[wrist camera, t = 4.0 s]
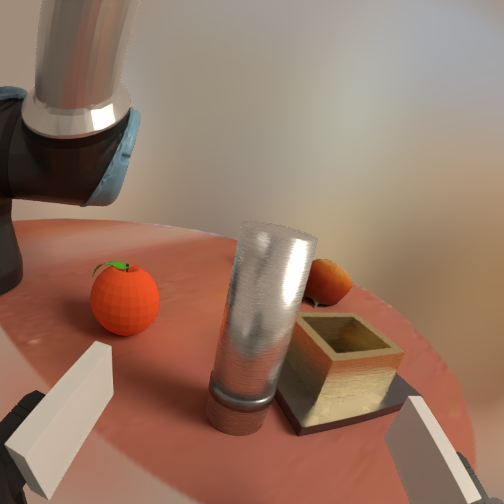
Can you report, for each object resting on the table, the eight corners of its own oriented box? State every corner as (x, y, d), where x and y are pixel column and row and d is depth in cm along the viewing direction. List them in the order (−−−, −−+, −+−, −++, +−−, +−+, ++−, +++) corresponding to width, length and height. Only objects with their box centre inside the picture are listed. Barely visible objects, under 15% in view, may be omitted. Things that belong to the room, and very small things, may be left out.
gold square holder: (298, 436, 19) (320, 386, 18) (243, 340, 32) (252, 298, 31) (417, 403, 24) (440, 362, 23) (346, 338, 37) (358, 303, 36)
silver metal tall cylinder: (211, 438, 18) (254, 234, 14) (199, 395, 22) (231, 216, 19) (273, 433, 19) (334, 246, 16) (253, 394, 23) (297, 227, 20)
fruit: (280, 285, 48) (308, 244, 49) (303, 305, 53) (328, 268, 54) (317, 307, 42) (347, 260, 43) (337, 325, 47) (363, 284, 48)
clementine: (70, 326, 26) (68, 258, 24) (110, 305, 32) (114, 245, 31) (132, 359, 24) (135, 285, 23) (169, 329, 31) (176, 266, 29)
